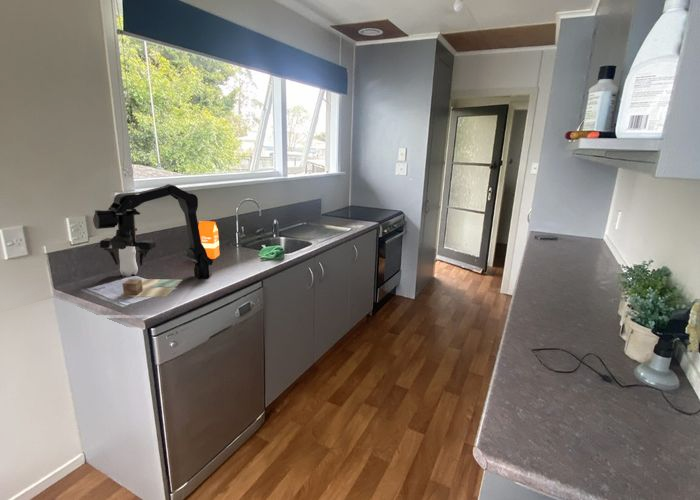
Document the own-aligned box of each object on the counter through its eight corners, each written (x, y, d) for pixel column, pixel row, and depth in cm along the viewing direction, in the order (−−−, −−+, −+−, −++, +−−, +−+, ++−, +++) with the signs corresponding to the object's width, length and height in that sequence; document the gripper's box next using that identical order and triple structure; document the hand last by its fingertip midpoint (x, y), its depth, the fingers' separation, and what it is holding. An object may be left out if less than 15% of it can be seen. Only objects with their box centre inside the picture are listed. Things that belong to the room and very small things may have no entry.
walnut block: (142, 290, 153) (141, 279, 152) (137, 295, 148) (135, 283, 147) (130, 290, 153) (128, 279, 151) (124, 295, 148) (122, 283, 146)
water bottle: (125, 272, 176) (118, 220, 170) (141, 272, 177) (135, 220, 171) (117, 277, 170) (110, 223, 163) (134, 277, 170) (127, 224, 164)
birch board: (183, 281, 167) (182, 279, 167) (166, 299, 148) (165, 296, 148) (141, 281, 166) (140, 279, 165) (118, 299, 146) (118, 296, 146)
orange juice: (214, 259, 202) (212, 223, 197) (198, 258, 202) (195, 222, 197) (219, 255, 210) (217, 220, 204) (204, 254, 210) (201, 219, 204)
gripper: (88, 228, 136) (92, 269, 139) (141, 231, 137) (144, 271, 141) (106, 223, 146) (109, 261, 150) (155, 226, 148) (157, 264, 151)
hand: (129, 265), depth 148 cm, fingers open, 9 cm apart
